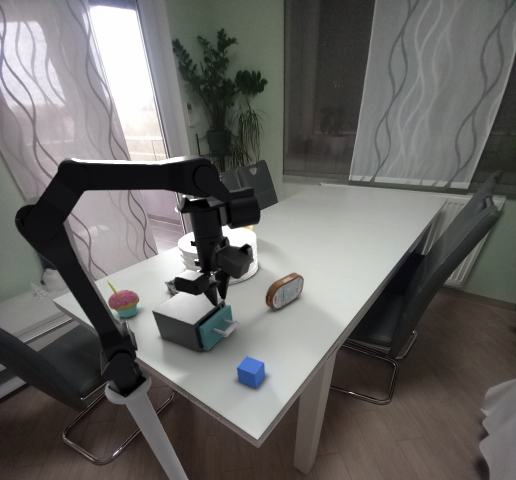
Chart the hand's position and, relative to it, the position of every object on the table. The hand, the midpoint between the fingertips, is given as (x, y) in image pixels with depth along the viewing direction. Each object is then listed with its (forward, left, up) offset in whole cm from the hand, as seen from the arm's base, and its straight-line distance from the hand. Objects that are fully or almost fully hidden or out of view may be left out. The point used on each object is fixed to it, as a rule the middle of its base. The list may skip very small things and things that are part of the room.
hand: (219, 302), depth 63 cm
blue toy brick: (-8, -13, -12) cm, 19 cm away
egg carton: (+15, +28, -12) cm, 34 cm away
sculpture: (+69, +39, -12) cm, 80 cm away
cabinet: (0, +10, -12) cm, 16 cm away
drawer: (0, +5, -11) cm, 12 cm away
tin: (+24, -6, -12) cm, 28 cm away
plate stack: (+36, +27, -12) cm, 47 cm away
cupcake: (-2, +35, -12) cm, 37 cm away
